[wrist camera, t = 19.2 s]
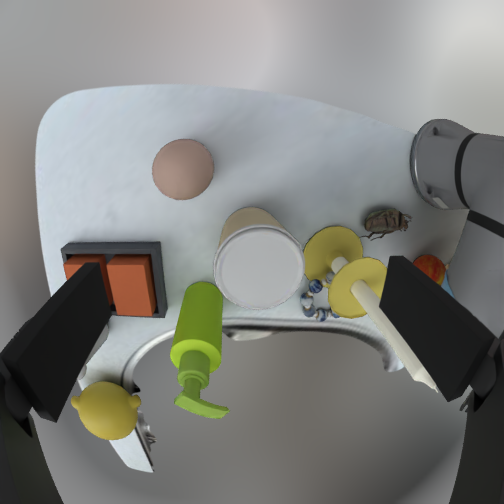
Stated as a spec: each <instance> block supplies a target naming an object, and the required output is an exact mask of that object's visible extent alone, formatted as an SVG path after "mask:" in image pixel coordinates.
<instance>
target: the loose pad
mask: <svg viewBox="0 0 504 504" xmlns="http://www.w3.org/2000/svg"><path fill="white" fill-rule="evenodd" d="M107 270H108V275H109V280H110V285H111V289H112V294H113V298H114V302H115V306H116V310H117V314H118V315H129V316H153V313H154V311H155V308H156V305H157V297H156V290H155V282H154V274H153V266H152V257H151V254H115V256H114V257H113V258H112V259H111V260H110V261H109V263H108V264H107Z"/></svg>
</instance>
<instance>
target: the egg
mask: <svg viewBox="0 0 504 504" xmlns="http://www.w3.org/2000/svg"><path fill="white" fill-rule="evenodd" d="M213 173H214V162H213V160H212V157H211V154H210V153H209V151H208V150H207V149H206V148H205V147H204V146H203V145H202V144H200V143H199V142H197V141H194V140H190V139H179V140H175V141H172V142H170V143H168V144H166V145H165V146H164V147H163V148H161V150H160V151H159V152H158V154H157V155H156V157H155V159H154V162H153V166H152V175H153V179H154V182H155V185H156V186H157V188H158V189H159V190H160V191H161V192H162V193H163V194H164V195H166V196H168V197H169V198H173V199H176V200H187V199H192V198H194V197H196V196H198V195H200V194H201V193H202V192H203V191H205V189H206V188H207V187H208V186H209V184H210V182H211V180H212V178H213Z"/></svg>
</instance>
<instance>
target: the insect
mask: <svg viewBox="0 0 504 504" xmlns="http://www.w3.org/2000/svg"><path fill="white" fill-rule="evenodd" d="M404 216H406V217H408V218H410V219H411V218H412V217H411V216H409V215H407V214H402V213H401V212H400V211H398V210H396V209H387V210H381V211H377V212H372V213H371V214H369V216H368V218H367V219H366V220H365V224H364V226H365V229H366V230H367V231H371V232H372V233H371V234H370V235H369V236H361V237H368V238H370V237H371V236H372V235H373V234H381V233H384V234H382V236H381V237H376V238H382V237H383V236H384V235H385V234H389V233H392V232H394V231H395V230H401V229H402V230H404V229H407V228H408V221H407V220H405V217H404ZM409 221H411V220H409ZM411 222H412V221H411ZM403 227H404V229H403ZM402 230H401V231H402ZM404 231H406V230H404ZM359 238H360V237H359ZM376 238H374V239H376ZM372 240H373V239H372ZM370 241H371V240H370Z"/></svg>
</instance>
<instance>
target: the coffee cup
mask: <svg viewBox="0 0 504 504" xmlns="http://www.w3.org/2000/svg"><path fill="white" fill-rule="evenodd" d="M213 272H214V278H215V281H216V284H217V286H218V288H219V290H220V291H221V292H222V294H223V295H224V296H225V297H226V298H227V299H229V300H230V301H231V302H233V303H234V304H236V305H238V306H240V307H243V308H247V309H253V310H263V309H269V308H272V307H275V306H278V305H280V304H282V303H283V302H285V301H286V300H288V299H289V298H290V297H291V296H292V295H293V294H294V293H295V292H296V290H297V289H298V287H299V286H300V283H301V281H302V279H303V276H304V272H305V258H304V253H303V251H302V248H301V246H300V244H299V243H298V241H297V240H296V239H295V238H294V237H293V236H292V235H291V234H290V233H288V232H287V231H286V230H285V229H284V228H283V227H282V225H281V224H280V223H279V222H278V221H277V220H276V219H275V218H274V217H273V216H272V215H270V214H269V213H268V212H266V211H265V210H263V209H260V208H256V207H247V208H242V209H240V210H237V211H236V212H234V213H233V214H232V215H230V216H229V218H228V219H227V220H226V222H225V224H224V227H223V230H222V233H221V237H220V241H219V246H218V250H217V253H216V255H215V259H214V264H213Z"/></svg>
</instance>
